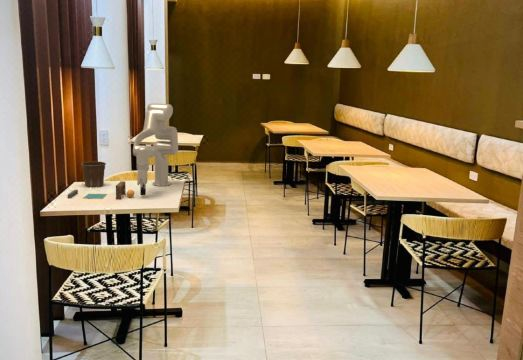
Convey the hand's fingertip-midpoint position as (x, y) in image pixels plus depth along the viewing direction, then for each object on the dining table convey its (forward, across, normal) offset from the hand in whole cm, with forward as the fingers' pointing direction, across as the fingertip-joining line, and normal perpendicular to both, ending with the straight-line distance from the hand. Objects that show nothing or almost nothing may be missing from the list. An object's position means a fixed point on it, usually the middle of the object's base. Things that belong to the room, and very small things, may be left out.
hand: (143, 195), depth 314 cm
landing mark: (+2, 0, -30) cm, 30 cm away
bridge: (+2, 0, -14) cm, 14 cm away
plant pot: (+2, -31, -39) cm, 50 cm away
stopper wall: (+2, 0, -44) cm, 44 cm away
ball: (-1, +1, -8) cm, 8 cm away
